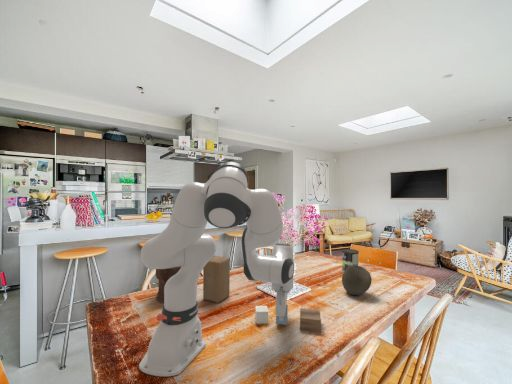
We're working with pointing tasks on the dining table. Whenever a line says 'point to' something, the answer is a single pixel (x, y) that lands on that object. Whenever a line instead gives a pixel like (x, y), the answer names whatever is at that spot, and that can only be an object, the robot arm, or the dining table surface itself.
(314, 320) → the walnut base
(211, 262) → the wooden block
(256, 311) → the cream cube
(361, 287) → the dark grey ball
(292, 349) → the dining table surface
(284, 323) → the blue block
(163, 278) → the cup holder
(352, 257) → the coffee can
